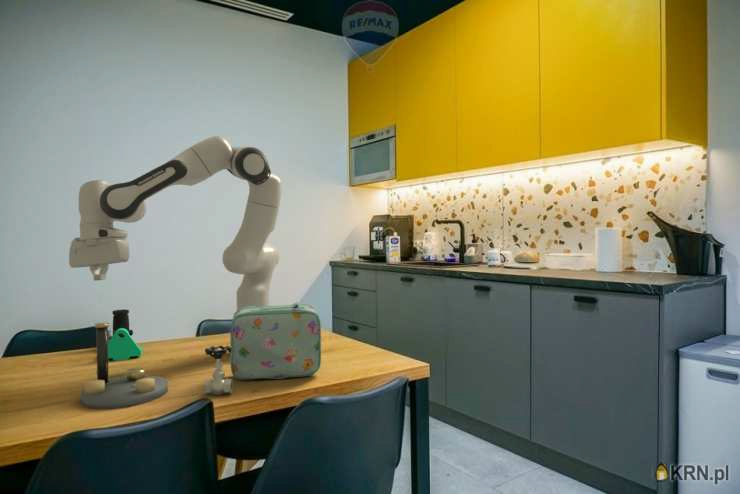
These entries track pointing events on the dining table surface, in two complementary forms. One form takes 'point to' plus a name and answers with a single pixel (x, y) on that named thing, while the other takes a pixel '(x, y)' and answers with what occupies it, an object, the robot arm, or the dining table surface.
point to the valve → (218, 373)
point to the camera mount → (122, 346)
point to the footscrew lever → (103, 358)
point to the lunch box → (275, 342)
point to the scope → (120, 322)
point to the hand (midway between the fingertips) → (99, 280)
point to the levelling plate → (122, 392)
